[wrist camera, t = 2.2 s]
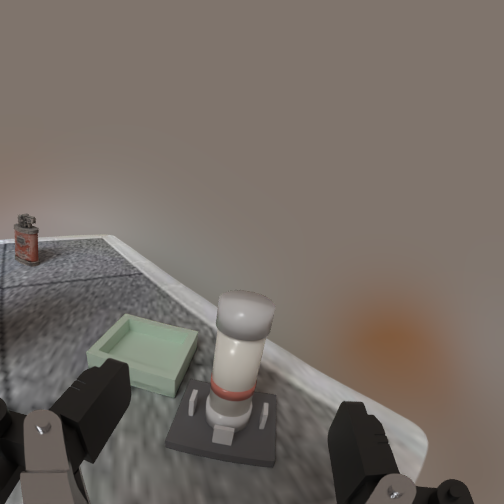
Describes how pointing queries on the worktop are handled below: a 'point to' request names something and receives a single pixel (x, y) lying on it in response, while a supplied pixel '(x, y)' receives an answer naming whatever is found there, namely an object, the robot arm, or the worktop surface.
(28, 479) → the robot arm
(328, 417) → the worktop surface
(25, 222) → the lighter
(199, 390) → the grey base plate
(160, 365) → the tray
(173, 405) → the worktop surface
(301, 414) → the worktop surface
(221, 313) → the fuse
